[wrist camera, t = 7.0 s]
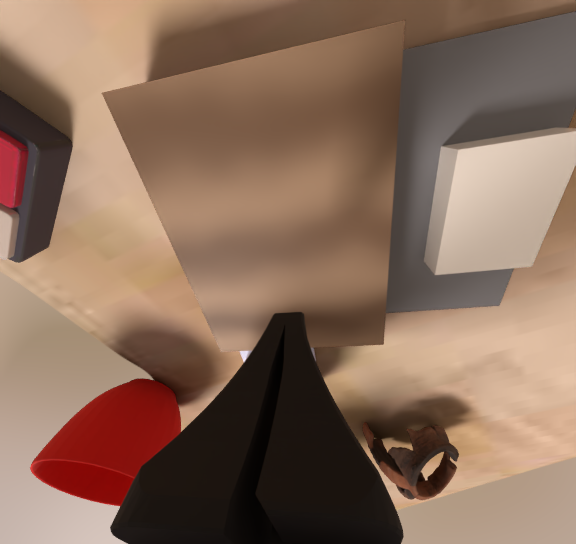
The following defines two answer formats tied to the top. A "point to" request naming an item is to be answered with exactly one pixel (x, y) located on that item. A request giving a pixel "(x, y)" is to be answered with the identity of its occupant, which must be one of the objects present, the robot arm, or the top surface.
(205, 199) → the block
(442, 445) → the pottery mug
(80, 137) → the top surface
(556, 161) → the tile
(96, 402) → the ceramic cup
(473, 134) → the mat
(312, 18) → the top surface
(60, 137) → the calculator
